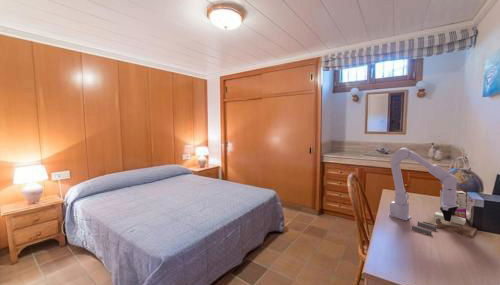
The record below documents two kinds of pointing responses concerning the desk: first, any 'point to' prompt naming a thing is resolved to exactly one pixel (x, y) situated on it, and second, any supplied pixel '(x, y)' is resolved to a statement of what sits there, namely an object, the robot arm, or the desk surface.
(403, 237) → the desk surface
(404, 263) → the desk surface
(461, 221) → the shelf board
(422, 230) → the battens
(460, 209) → the candy bar box
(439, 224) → the peg stand
